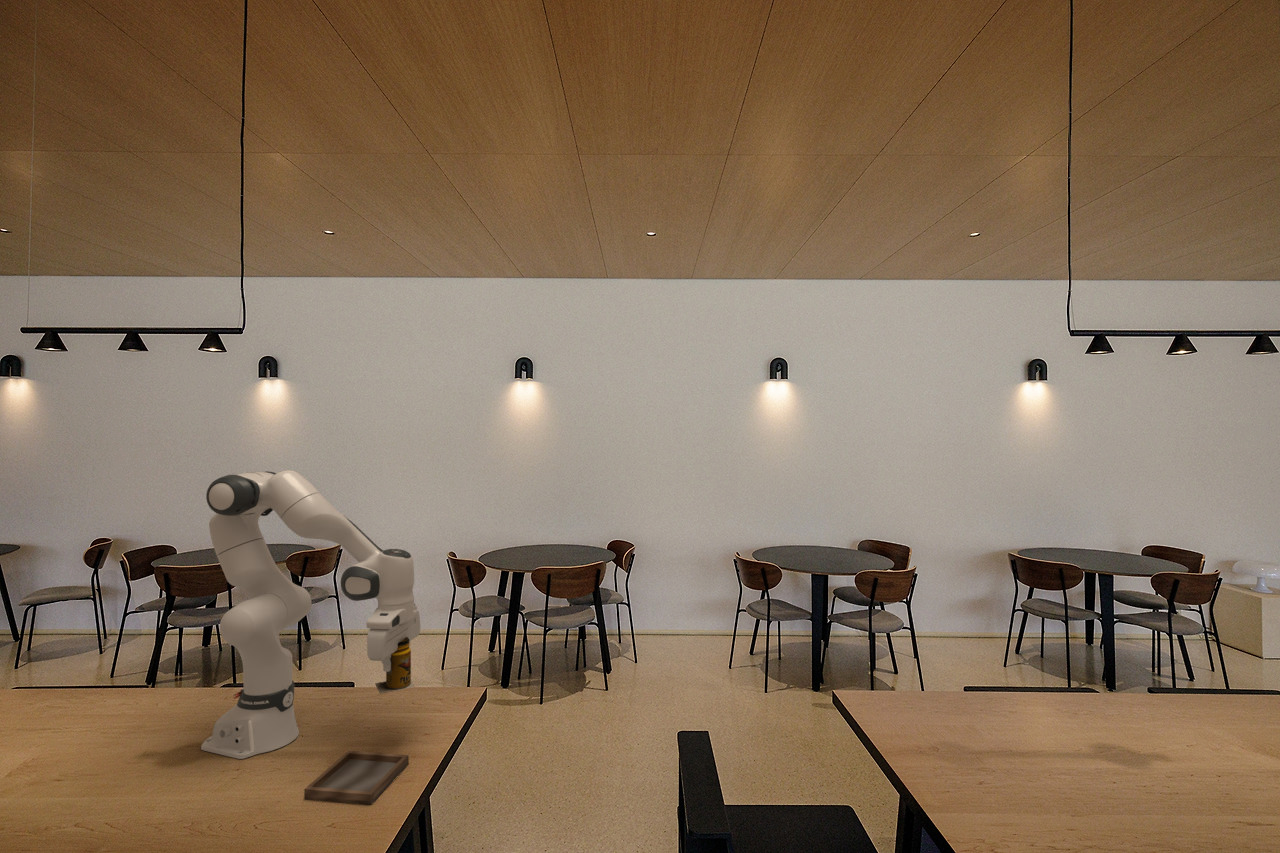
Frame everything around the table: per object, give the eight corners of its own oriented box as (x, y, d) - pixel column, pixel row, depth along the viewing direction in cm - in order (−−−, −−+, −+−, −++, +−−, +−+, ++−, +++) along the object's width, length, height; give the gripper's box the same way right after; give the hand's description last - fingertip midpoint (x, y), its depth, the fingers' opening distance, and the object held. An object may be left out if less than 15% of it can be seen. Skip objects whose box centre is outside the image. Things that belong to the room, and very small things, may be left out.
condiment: (415, 686, 154) (415, 640, 154) (380, 695, 150) (379, 647, 150) (408, 677, 160) (408, 632, 160) (374, 684, 156) (374, 638, 156)
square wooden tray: (304, 799, 132) (304, 789, 132) (348, 759, 148) (348, 750, 148) (371, 805, 130) (371, 794, 130) (408, 764, 146) (408, 755, 146)
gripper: (405, 600, 166) (404, 649, 166) (362, 623, 146) (361, 680, 146) (426, 601, 165) (426, 650, 165) (386, 625, 145) (386, 681, 145)
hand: (395, 664), depth 155 cm, fingers closed on condiment, 6 cm apart
